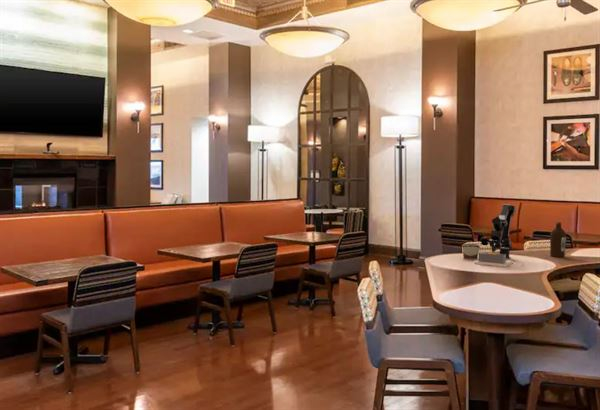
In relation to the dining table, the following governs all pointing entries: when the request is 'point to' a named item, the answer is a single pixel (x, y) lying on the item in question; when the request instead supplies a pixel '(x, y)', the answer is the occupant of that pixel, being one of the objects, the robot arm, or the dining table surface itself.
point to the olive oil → (557, 241)
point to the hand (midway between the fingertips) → (492, 251)
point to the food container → (470, 251)
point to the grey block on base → (493, 259)
